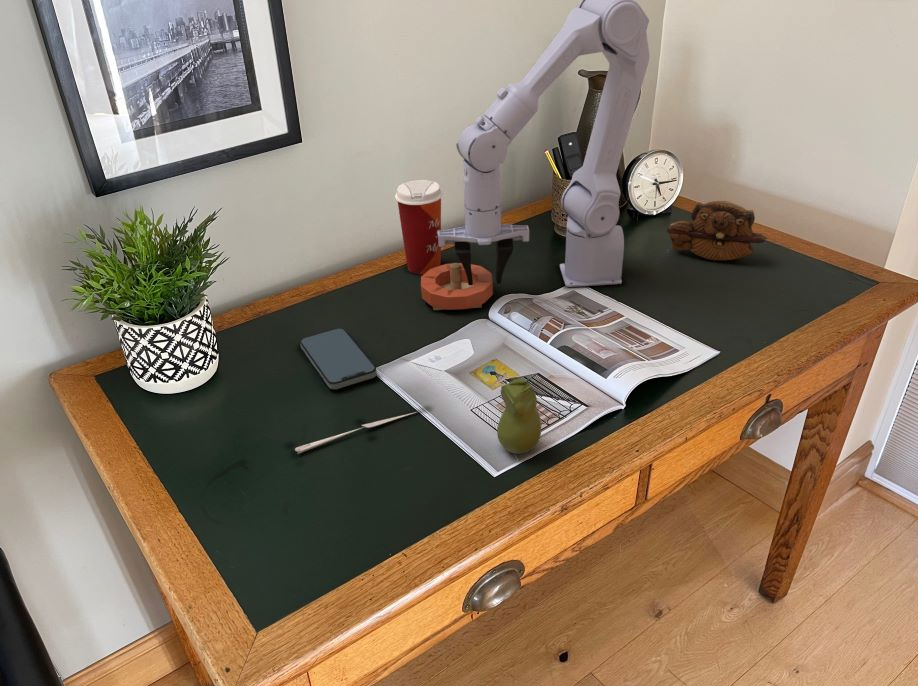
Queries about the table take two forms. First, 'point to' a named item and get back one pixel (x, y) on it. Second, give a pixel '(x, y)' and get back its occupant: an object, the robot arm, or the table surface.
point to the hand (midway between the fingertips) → (484, 281)
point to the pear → (519, 418)
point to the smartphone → (338, 358)
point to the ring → (459, 297)
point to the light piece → (317, 443)
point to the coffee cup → (420, 223)
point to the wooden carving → (716, 231)
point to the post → (455, 282)
